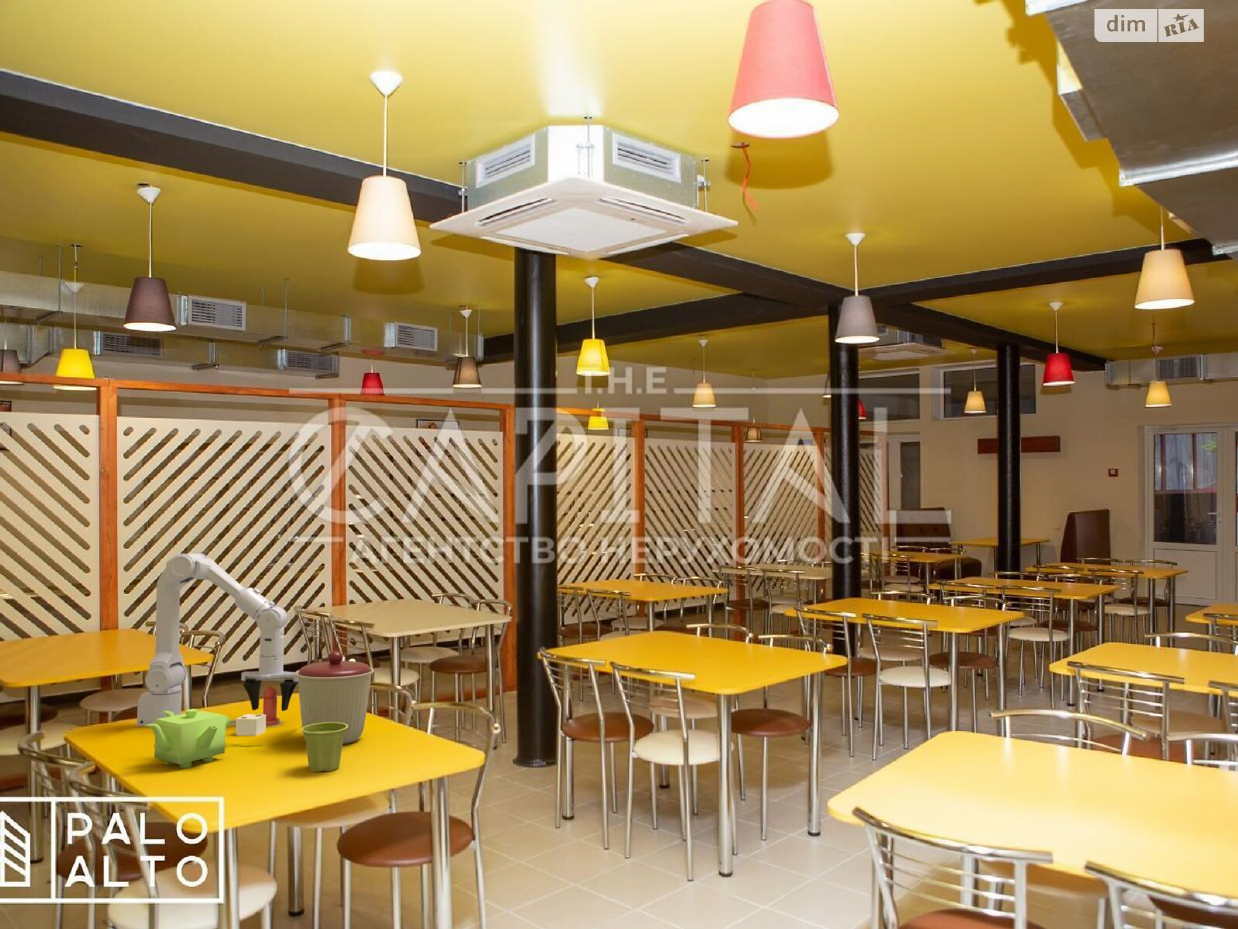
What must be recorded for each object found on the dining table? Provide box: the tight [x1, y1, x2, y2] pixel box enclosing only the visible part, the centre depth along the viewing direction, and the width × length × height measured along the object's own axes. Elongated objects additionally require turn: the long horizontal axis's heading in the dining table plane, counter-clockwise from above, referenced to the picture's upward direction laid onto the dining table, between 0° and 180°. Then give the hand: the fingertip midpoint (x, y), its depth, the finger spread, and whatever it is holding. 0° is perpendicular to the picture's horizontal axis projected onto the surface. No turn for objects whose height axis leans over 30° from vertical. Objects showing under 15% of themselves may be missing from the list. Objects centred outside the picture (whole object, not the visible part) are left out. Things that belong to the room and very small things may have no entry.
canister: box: [295, 650, 375, 745], centre depth 216 cm, size 18×18×21 cm
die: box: [235, 713, 267, 737], centre depth 218 cm, size 5×5×5 cm
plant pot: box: [301, 722, 348, 773], centre depth 192 cm, size 9×9×9 cm
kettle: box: [144, 708, 232, 769], centre depth 196 cm, size 15×14×11 cm
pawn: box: [262, 686, 280, 727], centre depth 228 cm, size 5×5×9 cm
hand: (270, 709), depth 228 cm, fingers open, 7 cm apart
